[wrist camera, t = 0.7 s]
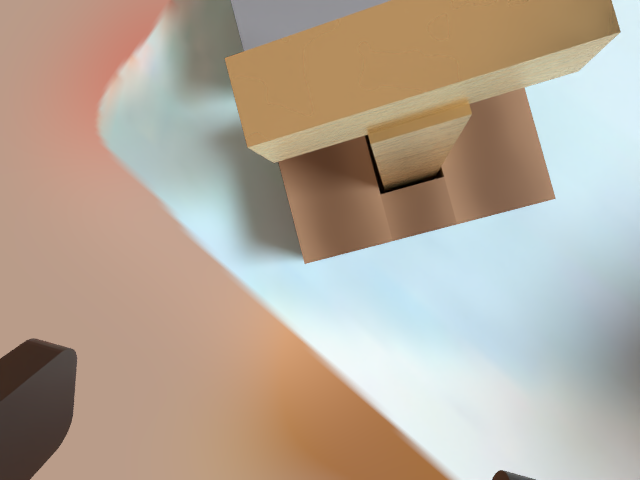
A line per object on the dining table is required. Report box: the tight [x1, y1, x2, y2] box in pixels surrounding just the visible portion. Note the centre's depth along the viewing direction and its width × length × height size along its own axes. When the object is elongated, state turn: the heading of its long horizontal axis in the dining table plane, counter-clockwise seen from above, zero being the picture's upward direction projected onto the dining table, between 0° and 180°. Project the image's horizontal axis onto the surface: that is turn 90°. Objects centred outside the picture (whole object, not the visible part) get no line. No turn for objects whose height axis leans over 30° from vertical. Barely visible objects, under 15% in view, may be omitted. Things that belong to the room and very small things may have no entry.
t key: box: [225, 0, 620, 193], centre depth 20 cm, size 9×3×18 cm, turn 105°
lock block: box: [278, 88, 555, 264], centre depth 28 cm, size 14×9×4 cm, turn 105°
